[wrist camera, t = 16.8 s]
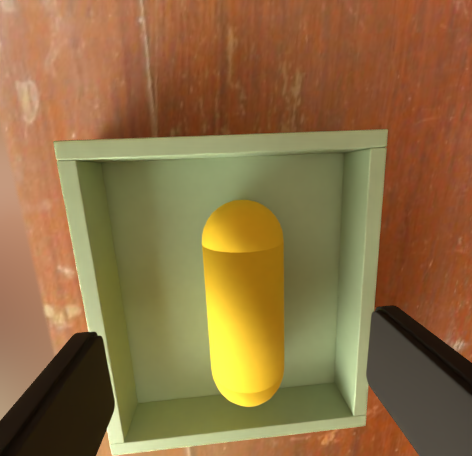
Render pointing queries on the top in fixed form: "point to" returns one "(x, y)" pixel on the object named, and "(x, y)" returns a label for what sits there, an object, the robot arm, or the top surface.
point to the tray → (193, 281)
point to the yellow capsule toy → (245, 300)
